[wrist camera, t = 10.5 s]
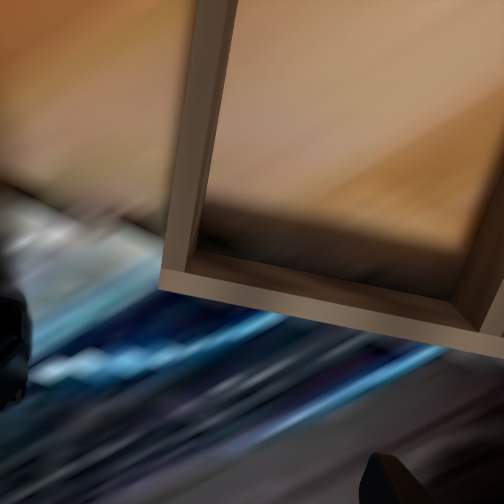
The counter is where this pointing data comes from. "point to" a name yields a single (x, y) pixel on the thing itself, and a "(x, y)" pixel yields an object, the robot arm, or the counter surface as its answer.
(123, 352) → the counter surface
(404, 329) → the rack
